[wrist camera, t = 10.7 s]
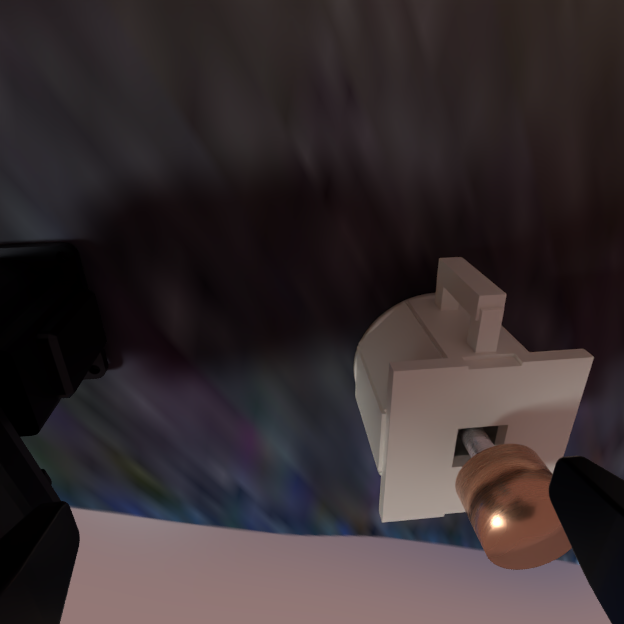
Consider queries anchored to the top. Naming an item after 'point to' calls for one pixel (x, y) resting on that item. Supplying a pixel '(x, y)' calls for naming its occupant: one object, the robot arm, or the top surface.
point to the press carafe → (456, 390)
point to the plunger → (509, 502)
